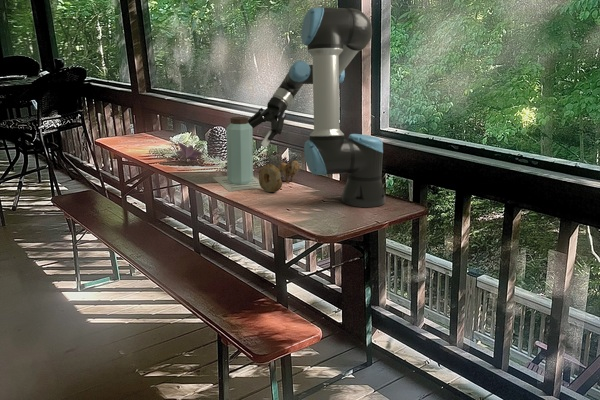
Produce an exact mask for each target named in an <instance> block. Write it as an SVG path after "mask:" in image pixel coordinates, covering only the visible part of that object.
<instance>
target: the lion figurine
mask: <svg viewBox="0 0 600 400" xmlns="http://www.w3.org/2000/svg"><path fill="white" fill-rule="evenodd" d="M278 169H279V171H280V178H281V179H282V178H285V183H286V184H289V183H290V182H291V183H294V182H295V180H294V179H293V178H294V176H295V175H296V174H297V173H298V171H301V169H302V165H300V164H299V163H298V161H297V160H291V161H289V162H287V163H286V162H281V163H279V166H278ZM282 176H283V177H282ZM284 176H285V177H284ZM289 177H290V180H289Z"/></svg>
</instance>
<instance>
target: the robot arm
mask: <svg viewBox="0 0 600 400" xmlns="http://www.w3.org/2000/svg"><path fill="white" fill-rule="evenodd" d="M301 26H302V27H301V36H300V37H301V42H302V43H301V44H303V45H304V46H306V47H307V52H308V53H309V54H310V55H311V57H312V64H309V63H308V62H306V61H304V60H297V61H295V62H294V63H293V64H292V65H291V66H290V68H289V71H288V72H287V74H286V75H285V77H284V79H283V80H282V82H281V83H280V84H279V87H278V88H277V89H276V90H275V92H274V93H273V94H272V97H270V98H269V100H268V102H267V105H266V106H267V108H266V109H264V108H263V107H260V108H259V109H258V111H256V113H254V114H253V115H252V116H251V117H250V118H248V123H249V124H250V125H251V127H252V129H254V128H256V127H257V126H259V125H260V124H261V125H262V124H263V123H266V122H270V123H271V124H270V125H271V126H270V127H271V128H270V130H269V131H268V132H267V134H266V135H265V136H264V138H263V139H262V141H261V142H260V145H261V146H262V147H263V148H264V149H267V147H268V146H269V144H270V142H271V141H273V139H274V138H275V136H277V135H281V134H282V133H283V127H284V121H285V119H286V117H287V114H286V111H287V109H288V107H289V106H290V105H291V103H292V102H293V100H294V98H295V97H296V95H297V94H298V93H299V91H300V89H301V88H302V87H303V86H304V85H312V95H313V96H312V100H313V103H312V104H313V130H312V132H311V133H310V134H309V139H308V140H306V141H305V142H304V145H303V155H304V159H305V164H306V166H307V169H308V171H309V172H310V173H311V175H315V176H317V175H318V176H319V175H320V176H321V175H322V176H327V175H340V174H342V175H343V174H344V175H346V174H347V179H346V180H347V181H346V183H345V186H344V189H343V192H342V195H341V202H342V203H343V204H345V205H347V206H352V207H357V208H358V207H359V208H375V207H380V206H383V205H385V204H386V194H385V189H384V185H383V182H382V174H383V173H382V171H383V157H384V156H383V154H384V143H383V140H382V139H380V138H379V137H377V136H372V135H367V134H361V133H360V134H359V133H351V134H349V135H348V138H347V139H346V138H345V133H343V131H342V130H341V129H340V84H343V82H344V80H345V76H346V73H345V70H346V68H347V67H348V66H349V65H350V63H351V62H352V60H353V59H354V58H355V57H356V55H357V54H358V53H359V52H360V51H362V50H363V51H364V49H365V48H367V46H368V45H369V43H370V41H371V39H372V36H373V26H372V22H371V21H370V19H369V17H368V16H367V15H366V14H365V13H364V12H362V11H361V10H360V9H356V8H352V7H351V8H350V7H348V8H345V7H344V8H343V7H342V8H341V7H322V6H321V7H312V8H310V9H308V10H307V11H306V13H305V15H304V18H303V21H302V25H301Z"/></svg>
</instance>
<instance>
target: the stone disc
mask: <svg viewBox="0 0 600 400" xmlns="http://www.w3.org/2000/svg"><path fill="white" fill-rule="evenodd" d="M258 180H259V184H260V186H261V188H260V189H262V190H263V191H264V192H267V193H276V192H278V191H280V190H281V189H282V186H283V181H282V177H281V178H280V171H279V167H277V166H276V165H274V164H267V165H263V166H261V168H260V169H259V172H258Z"/></svg>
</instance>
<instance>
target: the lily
mask: <svg viewBox="0 0 600 400" xmlns="http://www.w3.org/2000/svg"><path fill="white" fill-rule="evenodd" d="M177 144H178V147H179V148H180V150H178V151H175V154H178V155H180V156H182V157H183V160H184V162H185V163H184V166H186V164H187V161H185V160H187V159H190V160H193V161H194V160H198V157H199V156H203V155H204V153H203V152H201V151H199V150H194V146H193V145H189V146H187V145H186V144H183V143H182V142H177Z"/></svg>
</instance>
